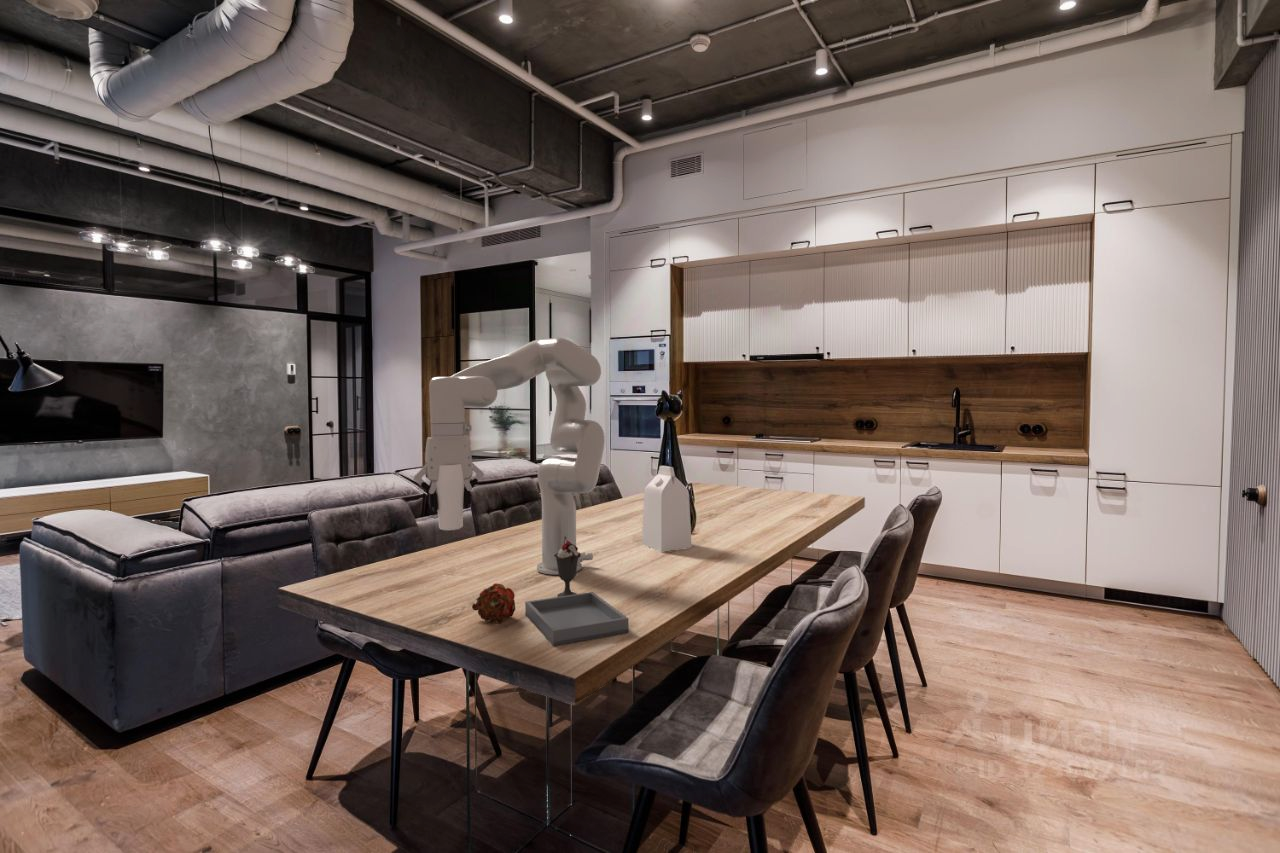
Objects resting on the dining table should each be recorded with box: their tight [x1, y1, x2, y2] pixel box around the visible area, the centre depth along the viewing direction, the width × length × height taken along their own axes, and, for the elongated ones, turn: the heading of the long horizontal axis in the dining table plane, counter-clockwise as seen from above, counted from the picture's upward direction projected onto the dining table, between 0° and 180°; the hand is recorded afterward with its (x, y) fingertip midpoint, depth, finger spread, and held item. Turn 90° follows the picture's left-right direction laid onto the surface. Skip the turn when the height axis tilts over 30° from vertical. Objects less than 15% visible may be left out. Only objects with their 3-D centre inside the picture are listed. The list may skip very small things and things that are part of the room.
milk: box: [641, 465, 693, 553], centre depth 207 cm, size 12×12×26 cm
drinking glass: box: [435, 464, 464, 531], centre depth 147 cm, size 7×7×15 cm
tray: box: [524, 591, 630, 647], centre depth 136 cm, size 16×20×3 cm
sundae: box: [553, 537, 582, 597], centre depth 155 cm, size 7×7×15 cm
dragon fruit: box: [471, 582, 516, 624], centre depth 139 cm, size 8×8×12 cm
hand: (450, 508), depth 147 cm, fingers closed on drinking glass, 6 cm apart
